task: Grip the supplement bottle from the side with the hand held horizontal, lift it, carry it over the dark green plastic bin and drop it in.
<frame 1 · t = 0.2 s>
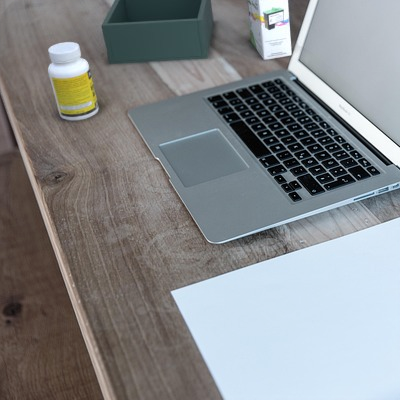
bin: (164, 43, 120), on the table
supplement bottle: (80, 114, 100), on the table
ink box: (271, 50, 117), on the table
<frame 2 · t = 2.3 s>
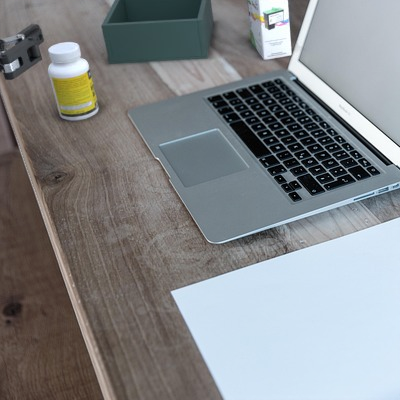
hand: (4, 31, 82), 16 cm above the table, tool horizontal, fingers open, 8 cm apart
nothing on the table moved.
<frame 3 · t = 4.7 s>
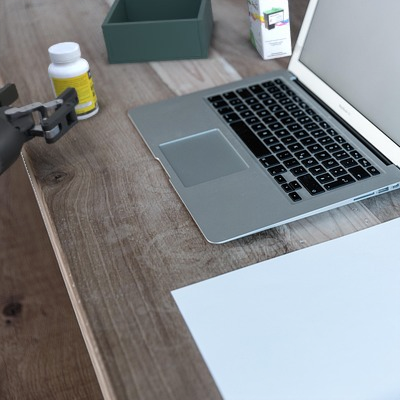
hand: (43, 91, 91), 6 cm above the table, tool horizontal, fingers open, 8 cm apart
nothing on the table moved.
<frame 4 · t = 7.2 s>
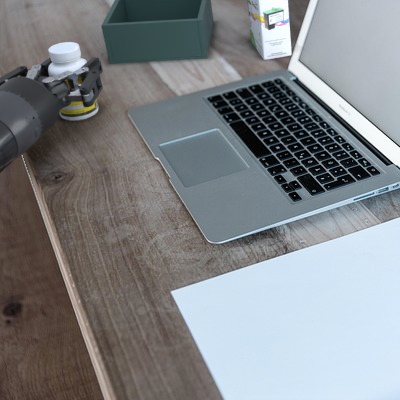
hand: (77, 62, 99), 7 cm above the table, tool horizontal, fingers closed on supplement bottle, 5 cm apart
supplement bottle: (80, 114, 100), on the table, touching gripper
everything else where it was.
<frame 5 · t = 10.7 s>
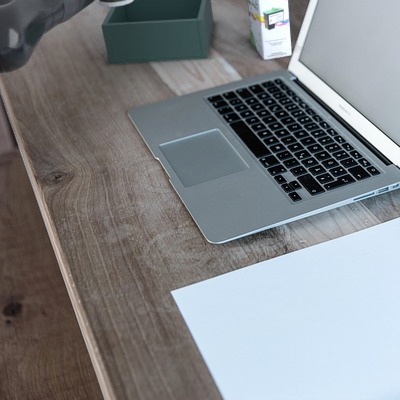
supplement bottle: (116, 3, 105), point 11 cm above the table, touching gripper
everything else where it was.
when the fingers open (11 cm above the table, at t = 14.6 s): supplement bottle drops 4 cm, resting on bin.
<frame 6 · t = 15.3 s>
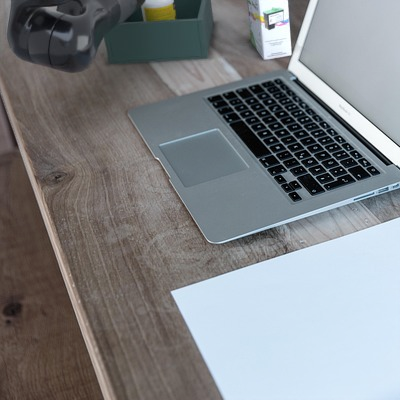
supplement bottle: (163, 41, 120), resting on bin
everything else where it was.
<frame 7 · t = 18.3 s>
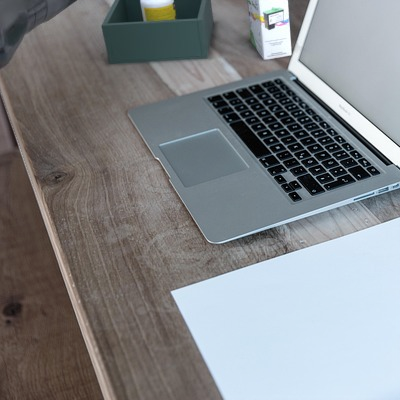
nothing on the table moved.
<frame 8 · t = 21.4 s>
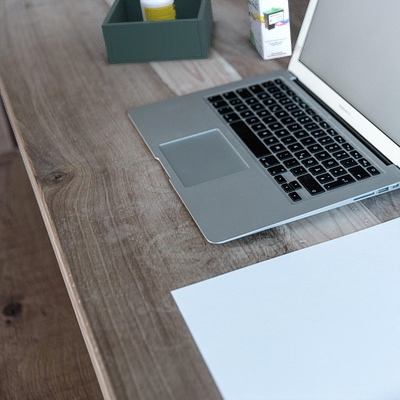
nothing on the table moved.
at the end: supplement bottle inside the target area in the bin (0.1 cm from its centre), point 0.4 cm above the bin's base; the gripper is holding nothing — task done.
